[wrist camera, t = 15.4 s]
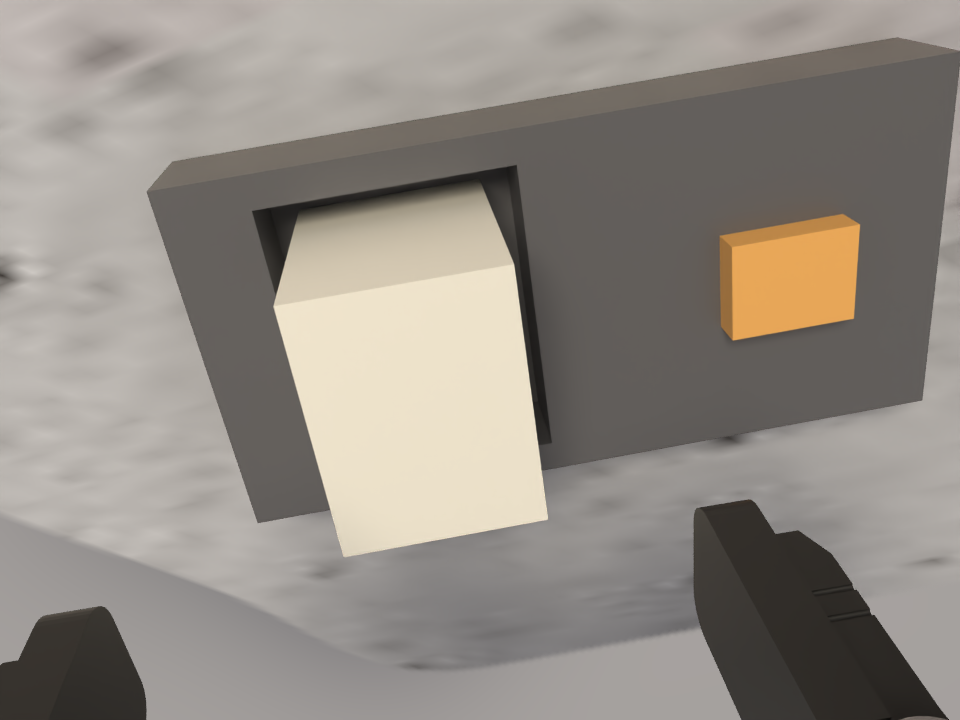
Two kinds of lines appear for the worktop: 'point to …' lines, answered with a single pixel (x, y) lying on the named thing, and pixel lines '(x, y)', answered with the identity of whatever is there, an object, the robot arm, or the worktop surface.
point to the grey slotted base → (619, 251)
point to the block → (412, 367)
